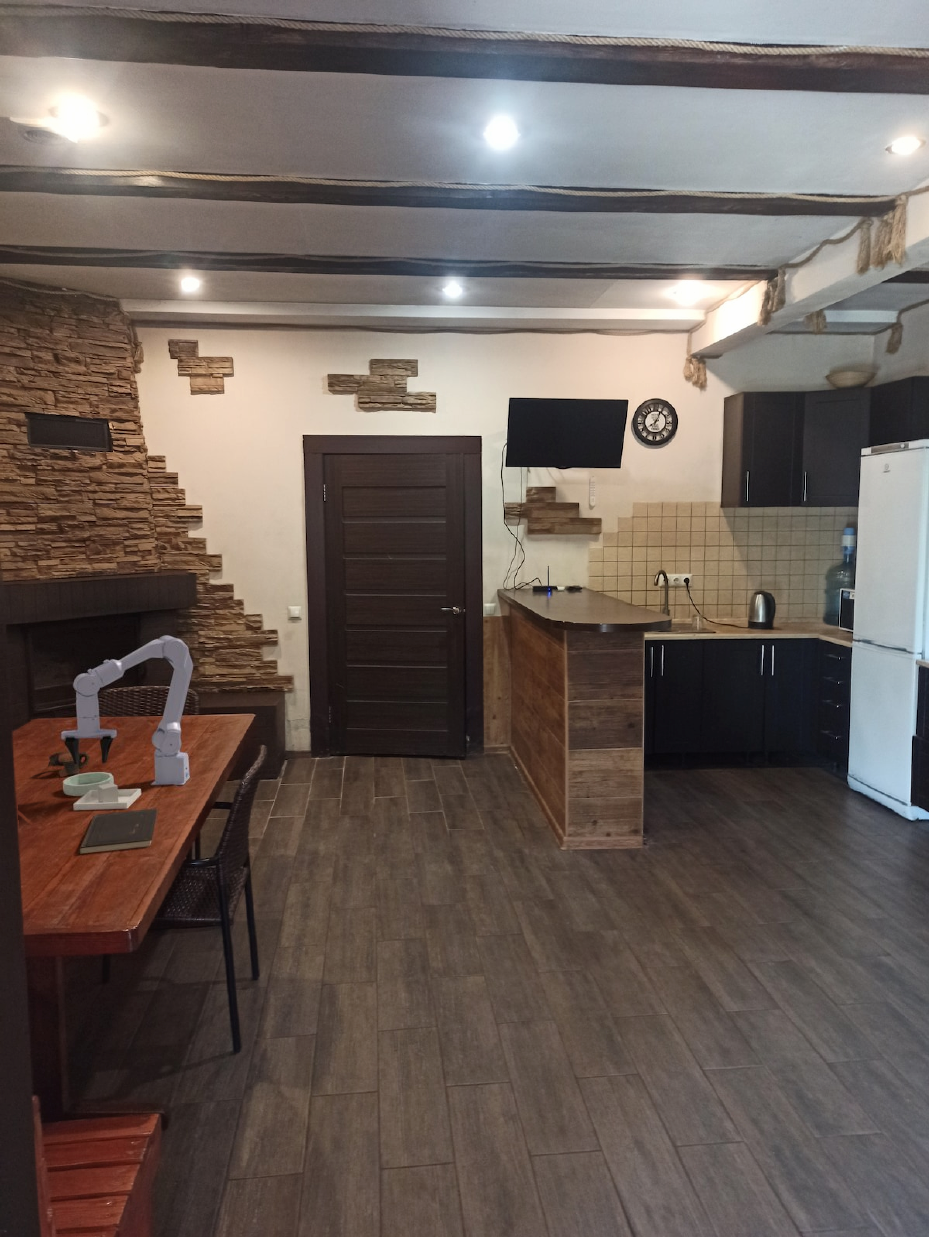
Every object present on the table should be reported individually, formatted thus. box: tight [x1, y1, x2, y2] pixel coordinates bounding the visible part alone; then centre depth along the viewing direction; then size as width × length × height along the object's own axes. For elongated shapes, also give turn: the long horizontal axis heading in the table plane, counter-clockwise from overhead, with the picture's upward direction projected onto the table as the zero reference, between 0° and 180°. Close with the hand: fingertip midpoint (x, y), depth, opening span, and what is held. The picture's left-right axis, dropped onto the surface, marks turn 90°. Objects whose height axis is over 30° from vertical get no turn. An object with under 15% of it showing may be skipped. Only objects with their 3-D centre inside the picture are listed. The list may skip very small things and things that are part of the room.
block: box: [98, 783, 119, 803], centre depth 225 cm, size 4×4×5 cm
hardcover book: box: [78, 808, 159, 855], centre depth 203 cm, size 16×23×2 cm
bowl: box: [62, 771, 115, 797], centre depth 237 cm, size 13×13×4 cm
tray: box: [73, 788, 142, 811], centre depth 225 cm, size 14×12×2 cm
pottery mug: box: [47, 749, 91, 778], centre depth 256 cm, size 12×10×8 cm
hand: (90, 762), depth 231 cm, fingers open, 7 cm apart
